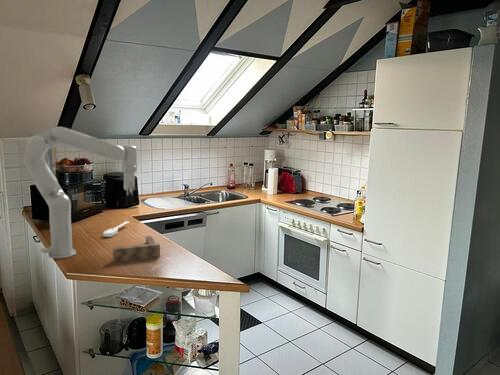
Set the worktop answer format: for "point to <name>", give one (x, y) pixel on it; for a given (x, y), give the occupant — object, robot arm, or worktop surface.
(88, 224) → the worktop surface
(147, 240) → the brown angled block
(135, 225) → the worktop surface
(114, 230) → the white toy guitar
